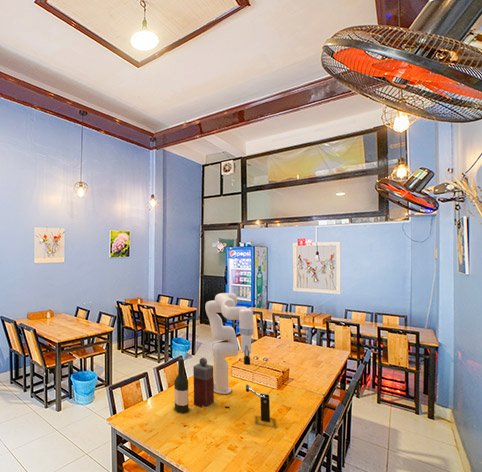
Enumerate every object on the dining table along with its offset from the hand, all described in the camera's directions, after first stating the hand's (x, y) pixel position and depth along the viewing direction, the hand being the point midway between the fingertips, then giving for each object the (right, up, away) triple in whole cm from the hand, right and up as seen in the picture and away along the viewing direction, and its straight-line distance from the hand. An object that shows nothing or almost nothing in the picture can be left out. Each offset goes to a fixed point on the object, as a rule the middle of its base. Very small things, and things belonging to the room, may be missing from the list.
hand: (247, 364), depth 176 cm
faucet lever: (+4, -17, -2) cm, 17 cm away
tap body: (+8, -30, -5) cm, 31 cm away
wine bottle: (-36, -31, +9) cm, 48 cm away
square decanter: (-20, -31, +16) cm, 40 cm away
